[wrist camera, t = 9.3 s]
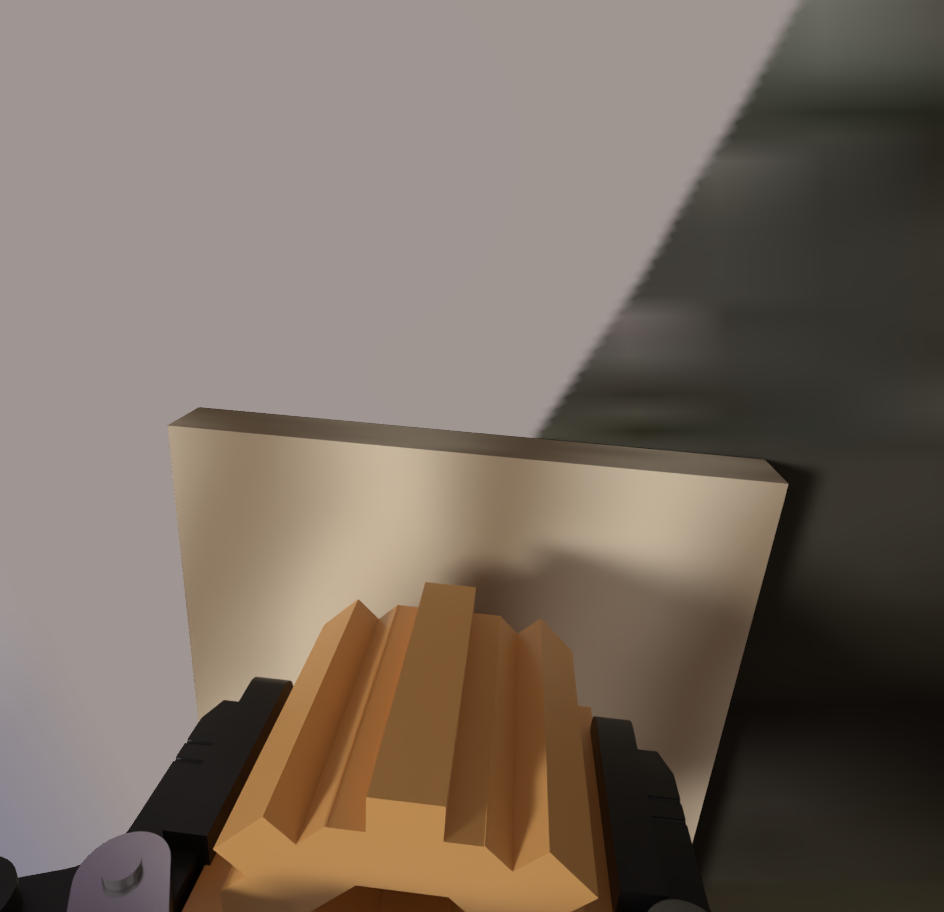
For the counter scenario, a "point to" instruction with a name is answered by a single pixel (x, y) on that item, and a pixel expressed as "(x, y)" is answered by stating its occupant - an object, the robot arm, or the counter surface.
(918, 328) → the counter surface
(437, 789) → the orange gear
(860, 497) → the counter surface
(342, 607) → the gear board
